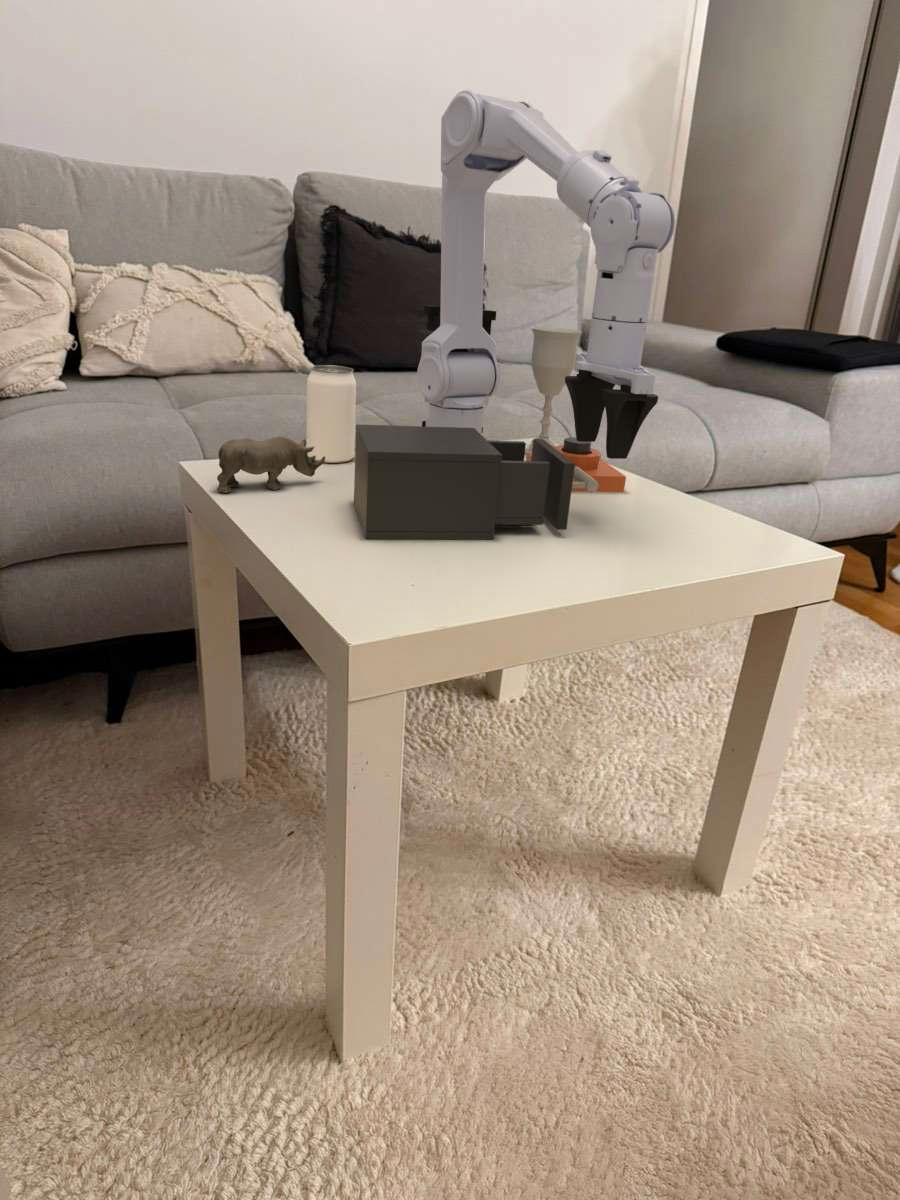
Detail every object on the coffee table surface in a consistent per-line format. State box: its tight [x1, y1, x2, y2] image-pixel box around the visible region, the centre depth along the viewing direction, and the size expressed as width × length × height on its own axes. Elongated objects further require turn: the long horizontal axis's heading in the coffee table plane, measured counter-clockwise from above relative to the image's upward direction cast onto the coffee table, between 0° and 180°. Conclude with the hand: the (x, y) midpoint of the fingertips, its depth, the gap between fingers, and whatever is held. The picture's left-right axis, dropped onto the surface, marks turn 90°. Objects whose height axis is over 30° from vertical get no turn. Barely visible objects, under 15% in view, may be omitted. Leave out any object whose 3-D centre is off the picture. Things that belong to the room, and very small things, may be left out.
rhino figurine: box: [216, 436, 325, 494], centre depth 101 cm, size 4×14×6 cm, turn 121°
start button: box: [562, 436, 592, 455], centre depth 114 cm, size 4×4×2 cm
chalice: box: [525, 326, 583, 454], centre depth 124 cm, size 7×7×18 cm
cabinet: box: [353, 423, 502, 540], centre depth 92 cm, size 14×13×9 cm
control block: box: [525, 444, 627, 493], centre depth 115 cm, size 12×10×4 cm
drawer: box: [486, 438, 599, 531], centre depth 95 cm, size 17×11×7 cm
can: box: [306, 364, 357, 464], centre depth 114 cm, size 6×6×12 cm
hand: (600, 449), depth 93 cm, fingers open, 7 cm apart
